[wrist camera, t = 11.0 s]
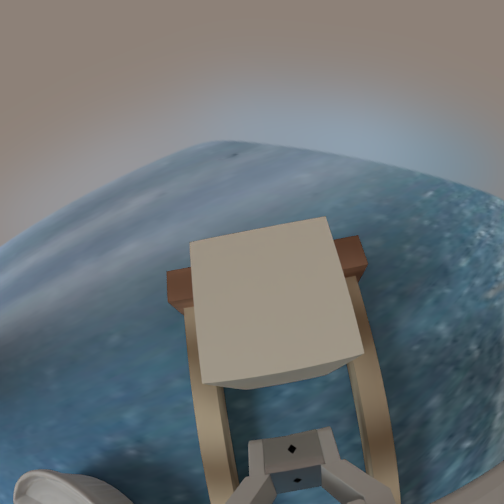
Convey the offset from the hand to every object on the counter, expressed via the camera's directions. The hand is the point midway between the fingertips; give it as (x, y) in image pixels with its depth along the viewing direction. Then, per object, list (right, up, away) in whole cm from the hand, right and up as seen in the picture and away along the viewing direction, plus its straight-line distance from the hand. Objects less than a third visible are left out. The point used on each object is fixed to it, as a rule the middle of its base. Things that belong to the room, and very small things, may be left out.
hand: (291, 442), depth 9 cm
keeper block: (0, +1, +9) cm, 9 cm away
